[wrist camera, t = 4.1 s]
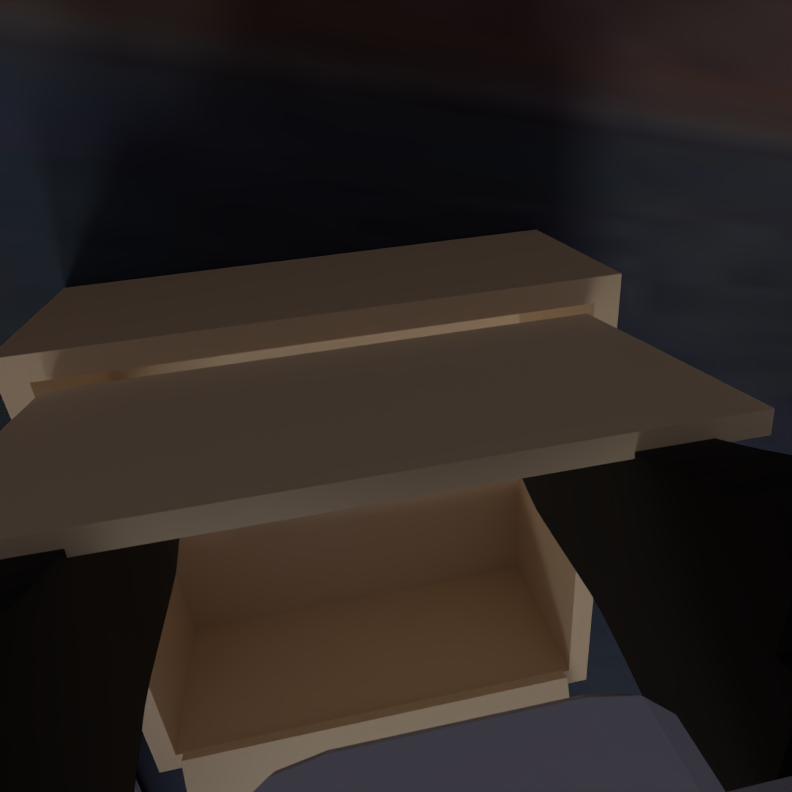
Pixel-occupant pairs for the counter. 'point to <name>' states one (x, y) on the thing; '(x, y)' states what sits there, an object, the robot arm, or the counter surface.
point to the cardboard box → (344, 529)
